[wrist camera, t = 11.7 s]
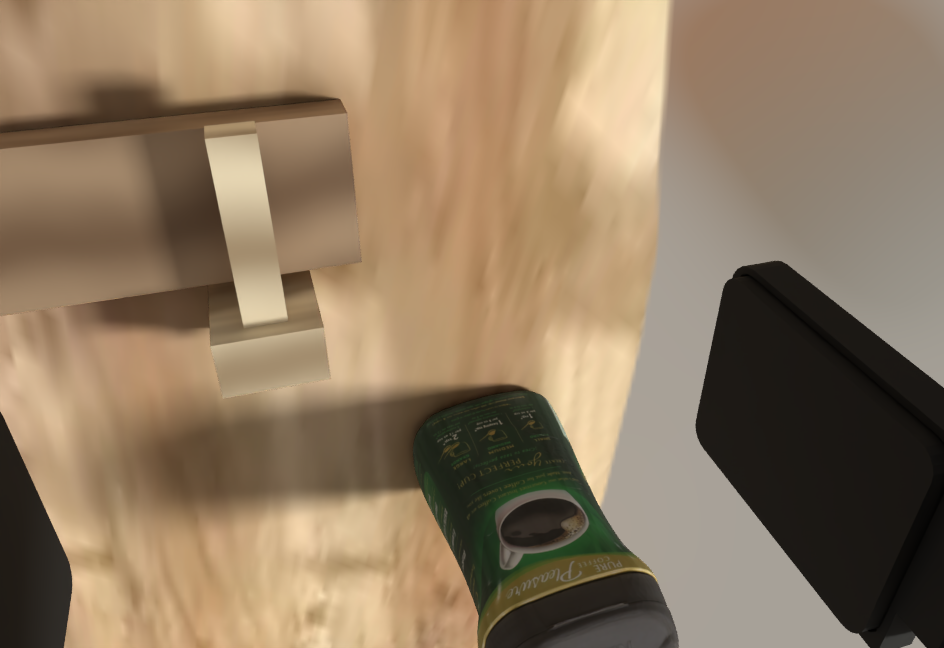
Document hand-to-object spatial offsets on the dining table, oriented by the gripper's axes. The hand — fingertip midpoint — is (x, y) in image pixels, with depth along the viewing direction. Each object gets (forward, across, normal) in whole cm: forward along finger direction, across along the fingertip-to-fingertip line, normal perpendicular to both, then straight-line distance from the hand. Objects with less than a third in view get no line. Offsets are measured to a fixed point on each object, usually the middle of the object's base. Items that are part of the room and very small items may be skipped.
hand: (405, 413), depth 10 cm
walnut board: (+28, +11, +9) cm, 32 cm away
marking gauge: (+28, +2, +11) cm, 30 cm away
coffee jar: (+28, -10, +28) cm, 41 cm away
